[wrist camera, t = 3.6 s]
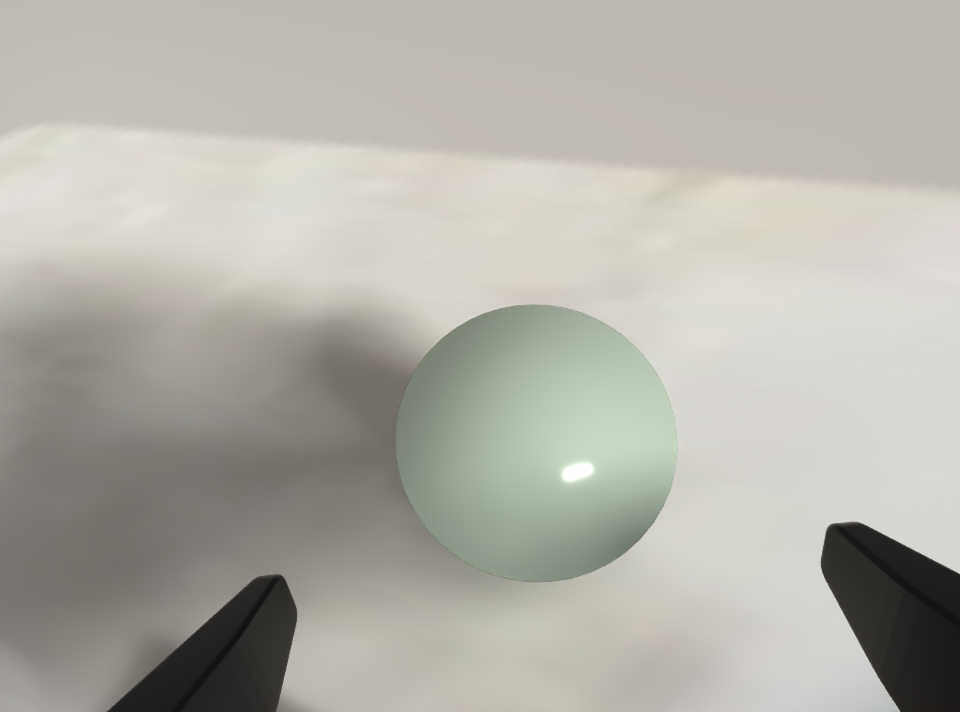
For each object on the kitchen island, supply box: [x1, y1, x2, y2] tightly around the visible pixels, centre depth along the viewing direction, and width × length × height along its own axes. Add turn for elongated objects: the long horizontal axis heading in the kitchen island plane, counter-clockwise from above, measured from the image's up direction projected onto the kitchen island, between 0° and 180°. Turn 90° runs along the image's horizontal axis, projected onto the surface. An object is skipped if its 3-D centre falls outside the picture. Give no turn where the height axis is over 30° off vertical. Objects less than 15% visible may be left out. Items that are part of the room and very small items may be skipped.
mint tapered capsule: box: [395, 305, 677, 582], centre depth 12 cm, size 4×4×10 cm
